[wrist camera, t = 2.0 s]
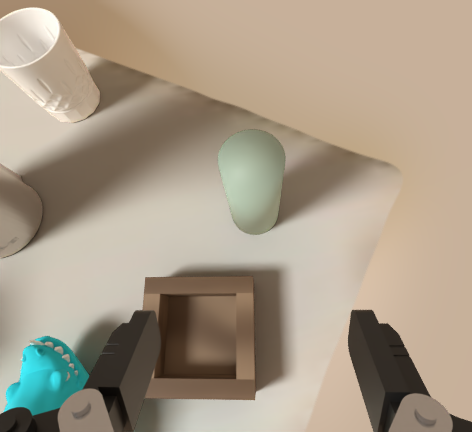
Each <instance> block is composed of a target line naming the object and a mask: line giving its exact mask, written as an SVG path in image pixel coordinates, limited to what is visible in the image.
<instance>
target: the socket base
mask: <svg viewBox="0 0 472 432" xmlns="http://www.w3.org/2000/svg"><path fill="white" fill-rule="evenodd" d="M143 310H154V311H155V313H156V317H157V322H158V326H159V331H160V336H161V349H160V353H159V356H158V359H157V362H156V365H155V368H154V371H153V374H152V377H151V380H150V383H149V386H148V389H147V392H146V395H145V398H163V399H225V400H255V394H256V380H255V322H254V280H253V276H225V277H145V289H144V300H143Z"/></svg>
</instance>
